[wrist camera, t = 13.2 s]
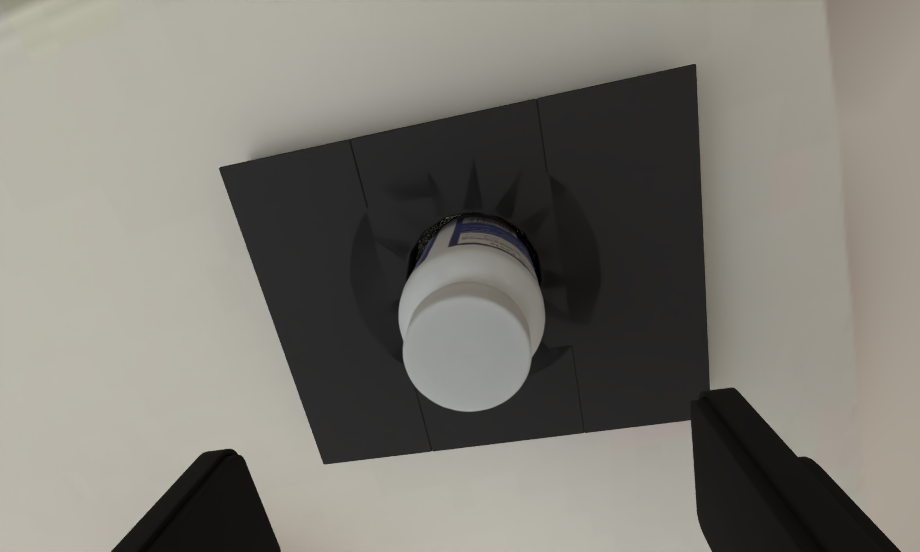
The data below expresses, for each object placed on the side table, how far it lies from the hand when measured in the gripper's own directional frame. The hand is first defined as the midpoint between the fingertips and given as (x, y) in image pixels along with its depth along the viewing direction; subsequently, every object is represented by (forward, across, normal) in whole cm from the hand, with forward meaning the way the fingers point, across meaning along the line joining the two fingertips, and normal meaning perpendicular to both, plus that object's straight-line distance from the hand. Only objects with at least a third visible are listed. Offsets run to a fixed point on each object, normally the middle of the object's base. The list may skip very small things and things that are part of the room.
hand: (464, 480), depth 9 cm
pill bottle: (+15, 0, 0) cm, 15 cm away
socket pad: (+15, 0, 0) cm, 15 cm away
